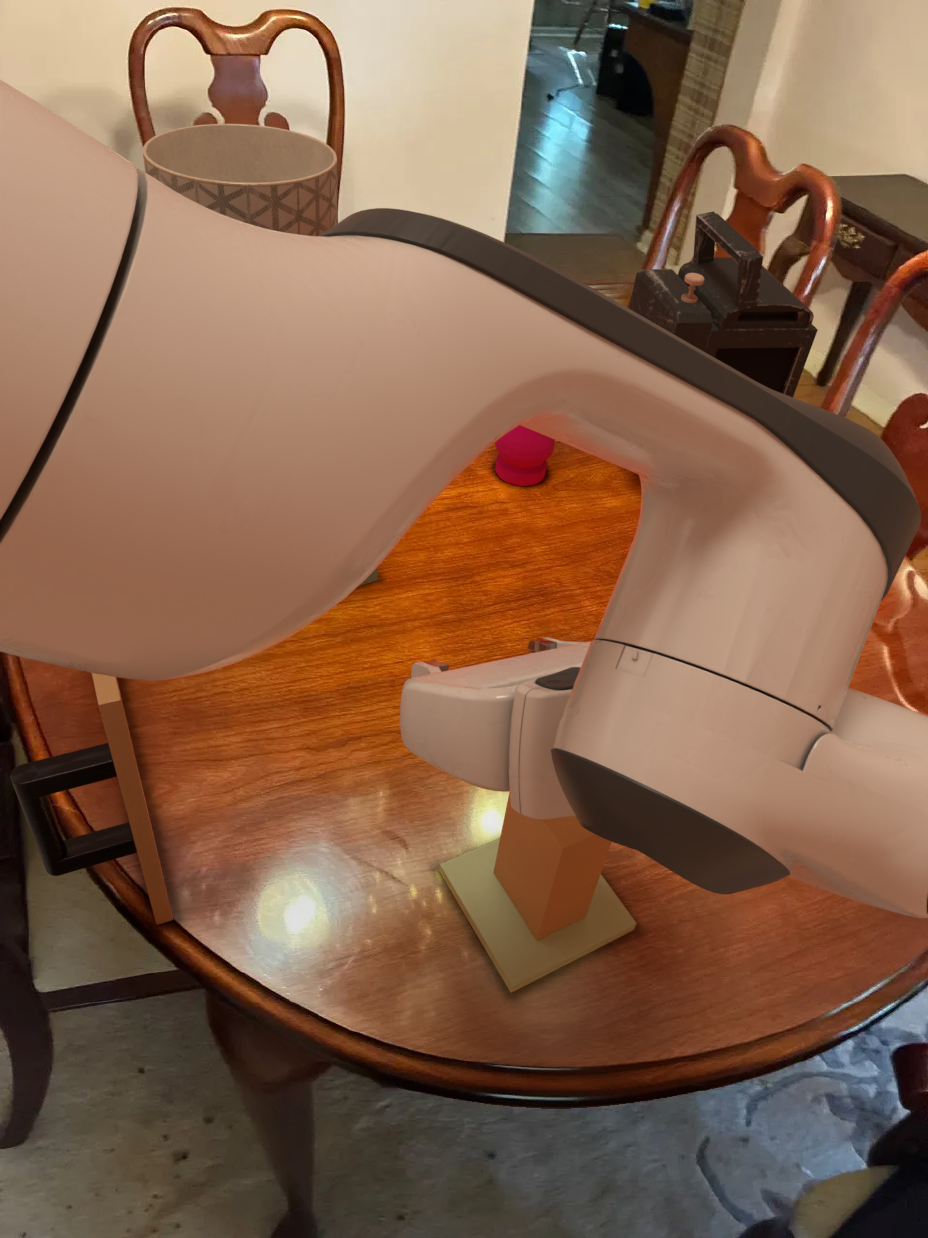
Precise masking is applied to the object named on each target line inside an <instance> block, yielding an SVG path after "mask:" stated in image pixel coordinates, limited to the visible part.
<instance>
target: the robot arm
mask: <svg viewBox="0 0 928 1238" xmlns="http://www.w3.org/2000/svg"><path fill="white" fill-rule="evenodd" d="M519 425H521V426H524V427H526V428H528V429H531V430H533V431H536V432H538V433H540V434H543V435H545V436H548V437H550V438H552V439H555V441H558V442H559V443H562V444H564V445H567V446H570V447H572V448H574V449H576V450H579V451H582V452H584V453H586V454H589V455H591V456H593V457H596V458H598V459H601V460H603V461H606V462H607V463H610V464H613V465H615V466H618V467H620V468H623V469H625V470H627V471H630V472H632V473H634V474H636V475H638V477H639V480H640V489H641V501H640V511H639V517H638V522H637V527H636V530H635V533H634V537H633V540H632V542H631V544H630V547H629V550H628V552H627V554H626V556H625V559H624V562H623V565H622V568H621V570H620V572H619V575H618V578H617V580H616V582H615V584H614V587H613V590H612V592H611V595H610V598H609V600H608V602H607V605H606V607H605V610H604V613H603V615H602V618H601V620H600V623H599V625H598V628H597V630H596V633H595V635H594V638H593V639H592V640H590V641H589V640H588V641H570V640H569V641H568V640H566V641H565V640H560V639H556V638H553V637H550V636H547V637H541V638H537V639H532V640H530V641H529V642H528V644H527V649H528V653H527V654H521V655H517V656H512V657H506V658H503V659H497V660H492V661H487V662H482V663H477V664H473V665H472V664H471V665H468V666H462V667H459V668H453V669H450V668H449V667H450V665H449V664H448V663H445V662H443V661H439V660H438V659H429V660H424V661H423V660H422V661H418V662H414V663H412V664H411V669H410V670H411V671H410V673H411V675H410V678H408V679H406V681H404V683H403V685H402V689H401V695H400V704H399V727H400V728H399V729H400V737H401V740H402V744H403V746H404V747H405V748H406V750H408V751H409V752H410V753H411V754H413V755H414V756H416V757H417V758H419V759H421V760H422V761H424V762H426V763H428V764H429V765H431V766H433V767H435V768H436V769H439V770H440V771H442V772H444V773H446V774H448V775H450V776H452V777H454V778H456V779H458V780H460V781H462V782H464V783H466V784H469V785H471V786H474V787H477V788H480V789H483V790H487V791H493V792H508V793H509V792H510V802H511V807H512V808H513V809H514V810H515V811H516V812H518V813H520V814H521V815H523V816H526V817H528V818H531V819H536V820H546V819H554V818H561V817H568V816H576V817H577V819H578V821H579V823H580V824H581V826H582V827H583V828H585V829H586V830H588V831H590V832H592V833H594V834H596V835H598V836H600V837H602V838H604V839H606V840H609V841H611V842H612V843H613V844H616V845H619V846H623V847H626V848H628V849H631V850H636V851H638V852H640V853H642V854H643V855H645V856H646V857H647V858H649V859H651V860H653V861H654V862H655V863H658V864H659V865H661V866H663V867H664V868H666V869H668V870H669V871H671V872H672V873H674V874H676V875H677V876H679V877H680V878H682V879H684V880H686V881H688V882H689V883H691V884H693V885H695V886H696V887H699V888H700V889H704V890H706V891H708V892H711V893H714V894H718V895H733V894H737V893H741V892H744V891H748V890H752V889H755V888H756V889H757V888H760V887H763V886H764V887H765V886H767V885H769V884H772V883H775V882H778V881H780V880H782V879H785V878H789V879H791V880H794V881H797V882H800V883H802V884H805V885H807V886H810V887H813V888H816V889H817V890H821V891H824V892H827V893H829V894H832V895H836V896H839V897H842V898H843V899H848V900H850V901H854V902H857V903H860V904H864V905H867V906H871V907H874V908H877V909H881V910H885V911H889V912H893V913H896V914H900V915H904V916H908V917H911V918H916V919H928V716H927V715H926V714H922V713H920V712H918V711H915V710H913V709H909V708H907V707H904V706H902V705H899V704H897V703H894V702H892V701H889V700H886V699H883V698H881V697H877V696H875V695H872V694H869V693H865V692H863V691H860V690H857V689H853V688H851V687H850V684H851V682H852V679H853V677H854V674H855V671H856V668H857V666H858V664H859V660H860V657H861V655H862V652H863V650H864V648H865V647H864V646H865V644H866V642H867V639H868V637H869V634H870V631H871V629H872V626H873V623H874V621H875V619H876V616H877V612H878V610H879V607H880V605H881V602H882V601H883V600H884V599H885V598H886V596H887V595H888V593H889V591H890V589H891V586H892V585H893V582H894V580H895V578H896V576H897V574H898V572H899V570H900V568H901V566H902V563H903V562H904V560H905V557H906V556H907V553H908V551H909V549H910V548H911V544H912V543H913V541H914V539H915V537H916V535H917V533H918V530H919V528H920V526H921V523H922V513H921V512H922V511H921V508H920V505H919V503H918V500H917V498H916V495H915V492H914V489H913V488H912V485H911V483H910V481H909V480H908V477H907V475H906V473H905V471H904V469H903V468H902V466H901V464H900V462H899V460H898V459H897V457H896V456H895V454H894V452H892V450H891V448H890V447H889V446H888V445H887V443H885V441H884V440H883V439H882V438H881V437H880V436H878V435H877V434H876V433H875V432H874V431H872V430H870V429H868V428H867V427H865V426H863V425H862V424H859V423H857V422H856V421H853V420H852V419H848V418H846V417H844V416H842V415H840V414H837V413H835V412H832V411H829V410H827V409H824V408H822V407H819V406H816V405H814V404H811V403H808V402H807V401H803V400H801V399H798V398H795V397H794V396H793V397H790V396H787V395H785V394H782V393H779V392H777V391H774V390H772V389H770V388H768V387H766V386H764V385H762V384H760V383H758V382H756V381H754V380H753V379H751V378H749V377H747V376H746V375H744V374H742V373H740V372H739V371H737V370H735V369H733V368H732V367H730V366H728V365H726V364H725V363H723V362H721V361H719V360H718V359H716V358H714V357H712V356H710V355H709V354H707V353H705V352H703V351H702V350H700V349H698V348H696V347H695V346H693V345H691V344H689V343H688V342H686V341H684V340H682V339H681V338H679V337H677V336H676V335H674V334H672V333H670V332H669V331H667V330H665V329H663V328H662V327H660V326H658V325H656V324H655V323H653V322H651V321H649V320H648V319H646V318H644V317H643V316H641V315H639V314H637V313H636V312H634V311H632V310H630V309H629V307H627V306H625V305H624V304H622V303H620V302H618V301H616V300H614V299H613V298H612V297H610V296H607V295H606V294H604V293H602V292H600V291H598V290H596V289H595V288H594V287H592V286H590V285H588V284H586V283H584V282H583V281H580V280H578V279H577V278H575V277H573V276H571V275H570V274H568V273H565V272H563V271H562V270H560V269H558V268H557V267H554V266H553V265H550V264H549V263H547V262H545V261H544V260H543V261H542V260H541V259H539V258H537V257H535V256H533V255H531V254H529V253H527V252H524V251H523V250H521V249H519V248H517V247H515V246H512V244H511V245H510V244H508V243H506V242H504V241H503V240H500V239H497V238H495V237H493V236H490V235H488V234H486V233H484V232H481V231H479V230H476V229H474V228H471V227H469V226H465V225H463V224H460V223H457V222H455V221H452V220H449V219H445V218H443V217H439V216H435V215H432V214H426V213H421V212H416V211H411V210H406V209H400V208H391V207H377V208H368V209H364V210H360V211H356V212H354V213H352V214H349V215H348V216H346V217H345V218H344V219H342V220H341V221H339V222H337V224H336V225H335V226H333V227H332V228H330V229H329V230H327V231H326V232H324V233H323V234H321V235H320V236H306V235H298V234H291V233H284V232H279V231H274V230H269V229H265V228H261V227H258V226H254V225H251V224H248V223H244V222H241V221H238V220H236V219H233V218H230V217H228V216H225V215H222V214H219V213H217V212H215V211H213V210H211V209H208V208H206V207H204V206H202V205H200V204H198V203H196V202H194V201H192V200H190V199H188V198H186V197H184V196H183V195H181V194H179V193H177V192H176V191H174V190H172V189H171V188H169V187H168V186H166V185H164V184H163V183H161V182H160V181H158V180H156V179H155V178H153V177H152V176H150V175H148V174H147V173H145V170H142V169H140V168H137V167H136V165H134V163H133V162H131V161H129V160H128V159H127V158H125V157H124V156H122V155H120V154H119V153H117V152H116V151H114V150H113V149H112V148H110V147H109V146H107V145H105V144H104V143H102V142H101V141H99V140H98V139H96V138H95V137H93V136H91V135H90V134H89V133H87V132H85V131H84V130H83V129H81V128H80V127H78V126H76V125H75V124H74V123H72V122H70V121H69V120H67V119H66V118H64V117H63V116H61V115H60V114H58V113H57V112H55V111H54V110H52V109H51V108H48V107H47V106H46V105H44V104H42V103H40V102H38V101H37V100H36V99H34V98H32V97H30V96H28V95H27V94H26V93H24V92H22V91H21V90H19V89H17V88H16V87H14V86H12V85H11V84H8V83H7V82H6V81H5V80H2V79H0V653H5V654H8V655H10V656H11V655H12V656H15V657H19V658H23V659H24V658H25V659H28V660H31V661H36V662H39V663H44V664H48V665H53V666H56V667H57V666H58V667H61V668H66V669H69V670H70V669H71V670H76V671H81V672H85V673H86V672H87V673H91V674H92V673H95V674H101V675H107V676H113V677H117V678H120V679H127V680H134V681H144V682H159V681H160V682H161V681H170V680H174V679H182V678H187V677H192V676H197V675H201V674H206V673H209V672H212V671H215V670H219V669H222V668H226V667H228V666H232V665H234V664H237V663H240V662H242V661H245V660H247V659H249V658H251V657H253V656H255V655H257V654H260V653H262V652H264V651H266V650H268V649H270V648H273V647H275V646H276V645H278V644H280V643H283V642H284V641H286V640H288V639H289V638H291V637H292V636H294V635H296V634H298V633H299V632H300V631H302V630H303V629H305V628H306V627H309V626H310V625H312V623H314V622H316V621H318V620H319V619H320V618H322V617H323V616H324V615H326V614H327V613H328V612H330V611H331V610H332V609H333V608H335V607H336V606H337V605H339V604H340V603H341V602H343V600H345V599H346V598H347V597H348V596H349V595H351V593H353V592H354V591H355V590H356V589H357V588H358V587H360V586H361V585H360V584H361V583H362V582H363V581H364V580H365V579H366V578H367V577H368V576H369V575H370V574H371V573H372V572H373V571H374V570H375V569H376V568H377V567H378V568H379V566H380V565H381V564H382V563H383V562H384V560H386V558H387V557H388V556H389V555H390V554H391V552H392V551H393V550H394V549H395V547H396V546H397V545H398V544H399V542H401V540H402V539H403V538H404V536H405V535H406V534H407V533H408V532H409V530H410V529H411V528H412V527H413V526H414V525H415V524H416V522H417V521H418V520H419V519H420V517H421V516H422V515H423V514H424V513H425V511H426V510H427V509H428V508H429V507H430V506H431V505H432V503H433V502H434V501H435V500H436V499H437V498H438V497H439V496H440V495H441V494H442V493H443V492H444V491H445V490H446V489H447V487H448V486H450V484H451V483H452V482H453V481H454V480H456V478H457V477H458V476H459V475H461V473H463V472H464V471H465V470H466V469H467V468H468V467H469V466H470V465H471V464H473V462H474V461H476V459H478V457H480V456H481V455H482V454H484V452H486V451H487V450H488V449H489V448H490V447H492V445H494V444H495V442H496V441H497V440H499V439H500V438H501V437H502V436H504V435H505V434H506V433H508V432H510V431H511V430H513V429H514V428H516V427H517V426H519ZM359 585H360V586H359Z"/></svg>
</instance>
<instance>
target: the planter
mask: <svg viewBox="0 0 928 1238" xmlns="http://www.w3.org/2000/svg"><path fill="white" fill-rule="evenodd" d="M142 158H143V164H144V172H145V173H147V174H148V175H150V176H152V177H153V178H155V179H156V180H158V181H160V182H161V183H163V184H164V185H166V186H168V187H169V188H171V189H172V190H174V191H176V192H177V193H179V194H181V195H183V196H184V197H186V198H188V199H190V200H192V201H194V202H196V203H198V204H200V205H202V206H204V207H206V208H208V209H211V210H213V211H215V212H217V213H219V214H222V215H225V216H228V217H230V218H233V219H236V220H238V221H241V222H244V223H248V224H251V225H254V226H258V227H261V228H265V229H269V230H274V231H279V232H284V233H291V234H298V235H306V236H320V235H321V234H323V233H324V232H326V231H327V230H329V229H330V228H332V227H333V226H335V225H336V224H338V156H337V153H336V151H335V150H334V149H333V148H332V147H331V146H330V145H328V144H327V143H326V142H324V141H322V140H320V139H319V138H316V137H313V136H310V135H308V134H305V133H301V132H298V131H294V130H291V129H286V128H280V127H274V126H267V125H259V124H258V125H257V124H247V123H208V124H197V125H189V126H183V127H178V128H174V129H170V130H166V131H164V132H161V133H158V134H156V135H154V136H152V137H151V138H150V139H148V140H147V141H146V142H145V143H144V145H143V146H142Z"/></svg>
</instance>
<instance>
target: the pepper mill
mask: <svg viewBox="0 0 928 1238" xmlns="http://www.w3.org/2000/svg"><path fill="white" fill-rule="evenodd" d="M555 441H556V440H555V439H552V438H550V437H548V436H545V435H543V434H540V433H538V432H536V431H533V430H531V429H528V428H526V427H524V426H521V425H519V426H517V427H516V428H514V429H513V430H511V431H510V432H508V433H506V434H505V435H504V436H502V437H501V438H500V439H499V440H497V441H496V442H495V443H494V446H495V449H496V451H497V452H498V454H497V455H496V460H495V468H494V470H495V473H496V475H497V476H498V478H499V479H500V480H502V481H504V482H505V483H507V484H510V485H513V486H520V487H531V486H534V485H537V484H539V483H541V482H542V481H543V480H544V479H545V477H546V472H547V466H548V461H547V460H548V459H550V457H551V456H552V454H554V453H553V452H554V449H555Z"/></svg>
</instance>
